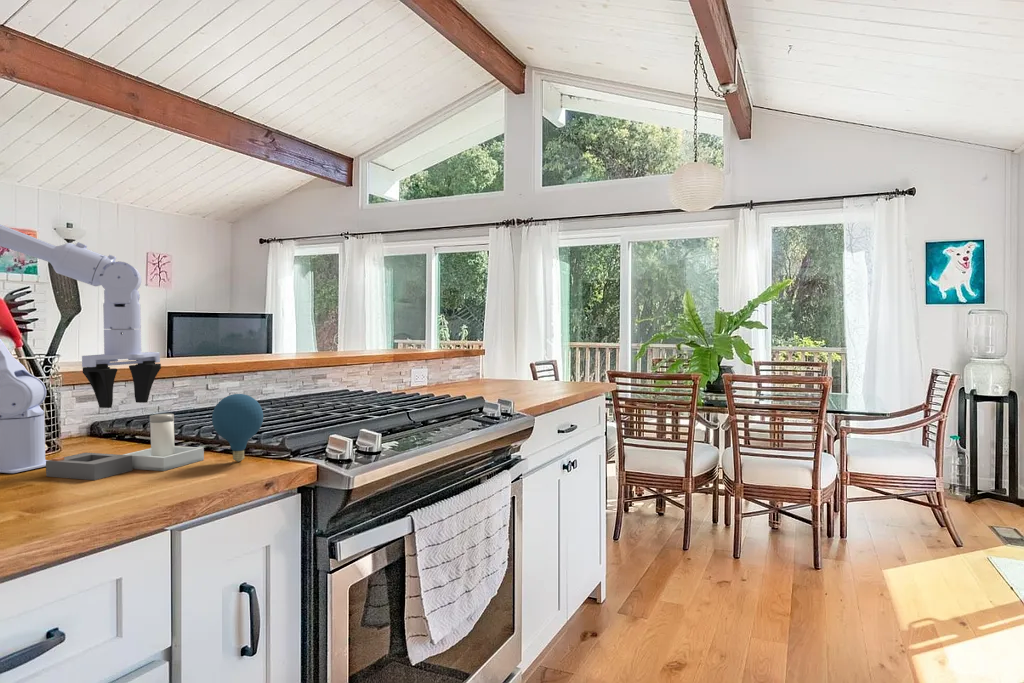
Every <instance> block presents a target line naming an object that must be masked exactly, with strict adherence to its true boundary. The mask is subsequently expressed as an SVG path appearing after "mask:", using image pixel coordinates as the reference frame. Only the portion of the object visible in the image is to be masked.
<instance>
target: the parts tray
mask: <svg viewBox="0 0 1024 683" xmlns="http://www.w3.org/2000/svg"><path fill="white" fill-rule="evenodd" d="M174 446H175V454H173V455H169V456H165V457H158V456H151V447H150V448H145V449H142V450H141V449H140V450H137V451H133V452H128V453H125V454H124V453H123V454H122V455H132V470H142V471H143V470H145V471H146V470H147V471H159V472H161V471H162V472H166V471H170V470H172V469H177V468H179V467H183V466H187V465H191V464H195V463H198V462H203V461H204V460H205V449H204V447H195V446H178V445H174Z"/></svg>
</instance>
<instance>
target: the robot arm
mask: <svg viewBox="0 0 1024 683" xmlns="http://www.w3.org/2000/svg"><path fill="white" fill-rule="evenodd" d="M0 247H2V248H5V249H8V250H12V251H14V252H18V253H20V254H22V255H25V256H30V257H33V258H36V259H38V260H42V261H45V262H48V263H49V264H51V266H52V268H53V270H54V272H55V273H56V274H58V275H60V276H64V277H68V278H69V279H72V280H76V281H79V282H81V283H85V284H87V285H89V286H92V287H100V286H101V287H102V288H103V297H104V298H103V300H104V301H103V305H102V307H103V343H104V344H103V354H102V353H101V354H92V355H91V354H90V355H81V368H82V374H83V375H84V377H85V378H86V379H87V381H88V382H89V385H90V386H91V388H92V391H93V392H94V394H95V395H94V396H95V398H96V401H97V405H98V407H99V408H102V409H110V408H112V407H113V402H114V400H113V399H114V384H115V379H116V376H117V373H118V369H117V368H111V367H110V366H120V365H121V366H122V365H123V366H124V365H128V368H129V370H130V373H131V374H130V375H131V376H132V378H131V379H132V381H133V389H134V393H133V394H134V401H135V403H141V404H142V403H143V404H145V403H146V404H147V403H148V401H149V398H150V394H151V391H152V390H151V389H152V387H153V383H154V381H155V379H156V377H157V375H158V373H159V372H160V371H161V369H162V365H161V352H159V351H152V352H151V351H150V352H148V351H145V352H142V324H141V323H142V317H141V316H142V315H141V303H140V298H141V296H140V290H139V288H141V285H142V275H141V273H140V271H139V270H138V269H137V268H136V267H134V266H133V265H131V264H130V263H128V262H125V261H116V259H117V256H115V255H112V254H109V255H108V256H107V255H104V254H101V253H99V252H97V251H93V250H91V249H88V248H87V247H88V246H87V244H84V243H82V242H80V241H79V242H76V244H75V243H72V242H66V243H64V244H62V245H61V244H60V245H54V244H51V243H49V242H47V241H45V240H41V239H38V238H37V237H33V236H31V235H30V234H27V233H23V232H21V231H18V230H16V229H13V228H11V227H8V226H6V225H4V224H0ZM119 360H125V361H119ZM126 360H127V361H126ZM46 397H47V388H46V385H45V383H44V382H43V381H42V380H41V379H40V378H38V377H37V376H35V375H33V374H31V372H29V370H27V369H26V366H24V365H23V363H21V362H20V361H18V359H16V358H15V356H13V354H12V353H11V352H10V351H9V349H8V347H7V346H6V345H5V343H4V341H3V340H2V339H1V338H0V473H4V474H17V473H20V472H25V471H30V470H34V469H35V470H36V469H39V468H44V467H46V461H48V460H49V459H46V439H45V438H46V436H45V434H46V433H45V429H46V428H45V427H46V426H45V411H44V410H43V409H42V408H41V405H42V404H43V403H44V402H45V400H46Z"/></svg>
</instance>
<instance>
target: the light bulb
mask: <svg viewBox="0 0 1024 683" xmlns="http://www.w3.org/2000/svg"><path fill="white" fill-rule="evenodd" d="M211 415H212V416H211V424H212V426H213V429H214V431H215V432H216V433H217V434H218V436H219V437H221V438H222V439H224V440H225V441H227V442H228V443H229V446H230V449H231V450H232V459H233V460H234V461H235V462H238V463H239V462H241V461H242V460H243V461H244V460H245V450H246V448H247V444H248V442H249V440H250V439H252V438H253V437H254V436H255V435H256V434H257V433H258V432H259V431H260V428H261V427H262V426H263V422H264V411H263V408H262V406H261V404H260V403H259V402H258V401H257V399H256V398H254V397H252V396H251V395H248V394H244V393H234V394H230V395H228V396H225V397H224V398H222V399H220V401H218V402H217V404H216V405H215V406H214V409H213V411H212V413H211Z"/></svg>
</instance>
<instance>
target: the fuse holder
mask: <svg viewBox="0 0 1024 683" xmlns="http://www.w3.org/2000/svg"><path fill="white" fill-rule="evenodd" d="M47 460H48V461H46V466H45V475H46V476H45V477H50V478H64V479H74V480H76V479H77V480H89V481H97V480H100V479H101V480H102V479H105V478H109V477H112V476H116V475H120V474H123V473H128V472H132V471H133V469H132V455H123V454H116V453H115V454H113V453H98V452H82V453H78V454H73V455H68V456H63V457H62V456H60V457H59V456H58V457H57V456H56V457H54V458H51V459H47Z"/></svg>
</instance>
